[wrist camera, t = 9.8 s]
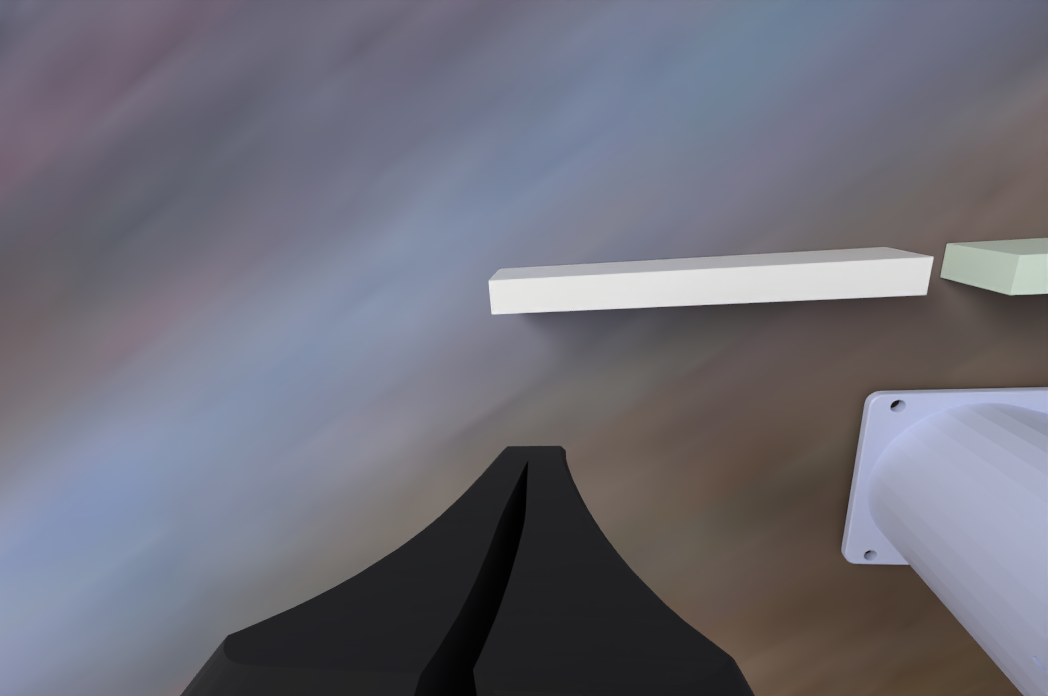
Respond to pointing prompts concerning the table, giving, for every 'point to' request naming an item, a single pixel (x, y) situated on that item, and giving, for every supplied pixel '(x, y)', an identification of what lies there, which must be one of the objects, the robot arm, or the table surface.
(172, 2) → the table surface
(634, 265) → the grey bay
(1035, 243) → the sage corral
